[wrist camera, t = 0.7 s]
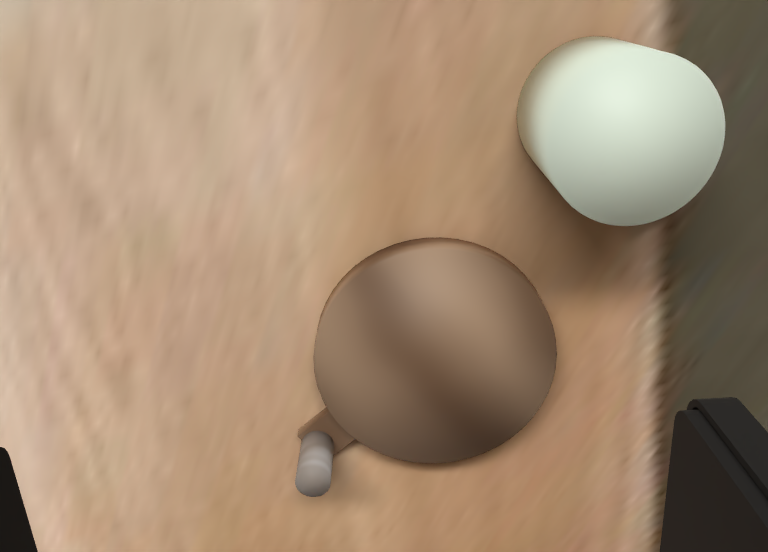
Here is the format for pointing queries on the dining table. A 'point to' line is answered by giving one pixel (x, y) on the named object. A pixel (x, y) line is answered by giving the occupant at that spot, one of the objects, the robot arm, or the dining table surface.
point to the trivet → (426, 357)
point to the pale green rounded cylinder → (621, 128)
